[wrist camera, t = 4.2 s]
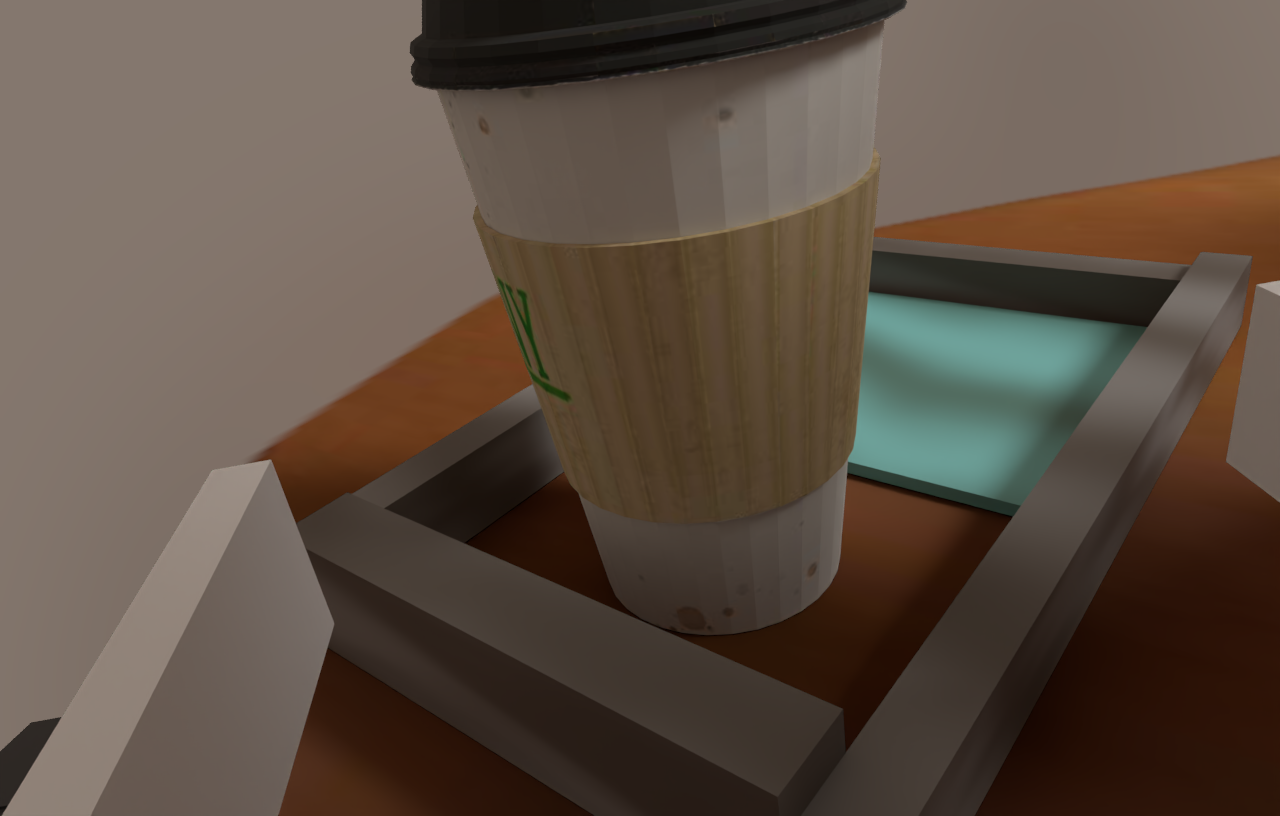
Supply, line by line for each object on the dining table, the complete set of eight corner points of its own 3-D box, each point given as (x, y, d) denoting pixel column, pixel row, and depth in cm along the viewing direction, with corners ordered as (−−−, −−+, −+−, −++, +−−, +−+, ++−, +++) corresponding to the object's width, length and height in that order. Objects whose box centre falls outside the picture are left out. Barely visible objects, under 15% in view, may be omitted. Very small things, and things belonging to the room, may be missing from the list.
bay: (806, 273, 42) (801, 197, 41) (1240, 325, 32) (1257, 226, 30) (291, 624, 25) (247, 517, 23) (878, 994, 14) (870, 845, 13)
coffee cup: (705, 428, 31) (640, -73, 24) (986, 524, 24) (1007, -131, 17) (467, 585, 25) (292, -13, 18) (749, 765, 19) (640, -65, 12)
